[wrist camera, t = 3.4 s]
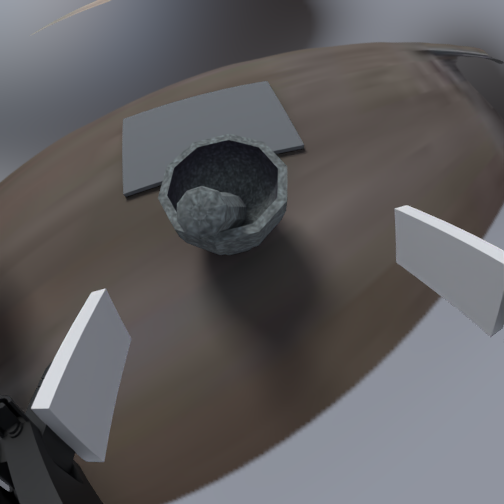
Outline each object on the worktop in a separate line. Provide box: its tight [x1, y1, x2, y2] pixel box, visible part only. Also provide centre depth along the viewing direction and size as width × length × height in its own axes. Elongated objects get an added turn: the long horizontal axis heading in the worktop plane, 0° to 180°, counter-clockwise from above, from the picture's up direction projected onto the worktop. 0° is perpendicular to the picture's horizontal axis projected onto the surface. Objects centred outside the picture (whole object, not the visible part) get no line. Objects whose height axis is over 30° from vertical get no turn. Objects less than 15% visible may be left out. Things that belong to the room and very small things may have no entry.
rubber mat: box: [122, 81, 304, 197], centre depth 32 cm, size 20×13×1 cm, turn 106°
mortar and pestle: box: [158, 134, 287, 255], centre depth 22 cm, size 11×9×12 cm
